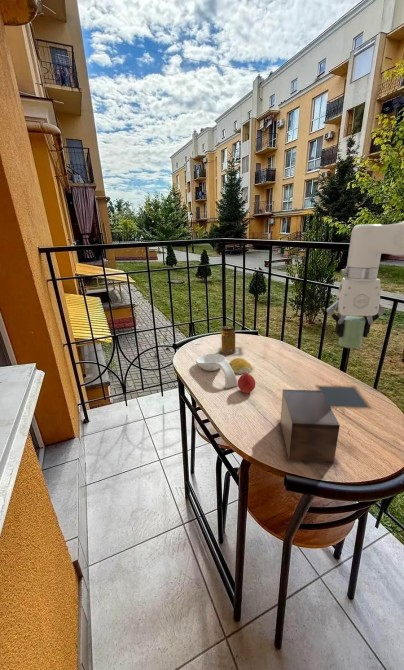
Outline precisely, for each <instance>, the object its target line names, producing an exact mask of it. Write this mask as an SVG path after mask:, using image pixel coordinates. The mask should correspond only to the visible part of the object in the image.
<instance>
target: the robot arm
mask: <svg viewBox="0 0 404 670" xmlns="http://www.w3.org/2000/svg"><path fill="white" fill-rule="evenodd" d="M382 254H385V255H392V256H404V220H403V221H401V222H397V223H390V224H381V223H366V224H364V223H363V224H357V225H355V226H354V227H353V228H352V229H351V234H350V241H349V248H348V256H347V260H346V261H347V263H346V266H345V268H343V269H342V268H341V269H340V272H339V273H340V275H342V276H343V275H344V277H342V279H341V282H340V284H339V287H338V291H337V295H336V300H335V302H333V303H332V304H331V305H330V306H329V307H327V308H326V309H325V312H326V313H327V314H328V315H329V316H330V317H331V318H332V319H333V321H335V329H334V334H336V336H337V337H338V338H339V337H342V335H343V329H344V324H343V321H344V319H345V318H346V316H358V317H362V318H364V319H366V322H365V328H364V333H363V338H365V339H366V338H368V335H369V334H370V330H371V325H373V324H374V322H375V321H376V320H378V319H379V317H381V316H383V314H385V313H386V309H385V308H384V307H383V306H382V305H381V304H380V302H381V279H380V278H378V274H379V267H380V263H381V258H382V257H381V256H382ZM334 311H337V312H338V313H337V314H336V313H335V312H334Z"/></svg>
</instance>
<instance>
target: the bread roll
mask: <svg viewBox="0 0 404 670" xmlns="http://www.w3.org/2000/svg"><path fill="white" fill-rule="evenodd" d="M228 363H229V365H230V366H231V368H232V370H233V372H234V374H241V375H242V374H245V373H246V372H248V373H250V371H251V369H252V366H251V363H249V362H248V361H247V360H245V359H244V358H241V357H236V358H233V359H231V360H230V361H229V362H228Z"/></svg>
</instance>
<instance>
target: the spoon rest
mask: <svg viewBox="0 0 404 670" xmlns="http://www.w3.org/2000/svg"><path fill="white" fill-rule="evenodd" d="M195 363H196V364H197V366H198V367H200V368H201V369H202V370H204V371H210V372H214V371H217V370H219V369H222V371H223V374H224V385H225V386H224V387H225V389H231V388H234V387H238V379H237V376H236V373H234V372H233V370H232V368H231V366H230V365H229V363H230V362H229V361H228V360H227V358H226V357H225V356H224V355H223V354H218V353H208V354H202V355H200V356H198V357H196V358H195Z"/></svg>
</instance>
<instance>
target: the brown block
mask: <svg viewBox="0 0 404 670" xmlns="http://www.w3.org/2000/svg"><path fill="white" fill-rule="evenodd" d="M331 407H332V406H330V405H329V404H328V402H327V400H326V398H325V396H324V394H323V392H322V391H321V390H317V389H282V395H281V409H280V421H279V423H280V426H281V431H282V436H283V440H284V445H285V449H286V452H287V459H288V461H299V462H300V461H302V462H303V461H304V462H318V463H332V464H333V463H335V459H336V458H335V457H336V451H337V445H338V439H339V433H340V427H341V424H340V423H339V421H338V419H337V417H336V415H335V413H334V411H333V409H332V408H331Z"/></svg>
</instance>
